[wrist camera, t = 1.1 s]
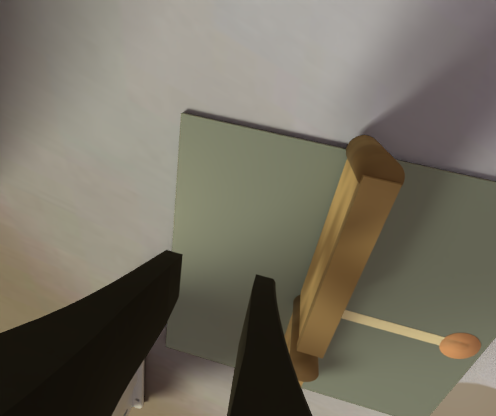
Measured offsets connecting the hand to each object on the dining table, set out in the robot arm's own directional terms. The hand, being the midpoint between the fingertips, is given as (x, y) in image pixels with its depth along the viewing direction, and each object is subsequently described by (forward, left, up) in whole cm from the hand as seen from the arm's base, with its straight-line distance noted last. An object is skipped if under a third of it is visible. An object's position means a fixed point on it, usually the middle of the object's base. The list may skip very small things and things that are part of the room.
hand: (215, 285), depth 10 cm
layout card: (-6, -6, -8) cm, 12 cm away
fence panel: (0, -5, -8) cm, 9 cm away
